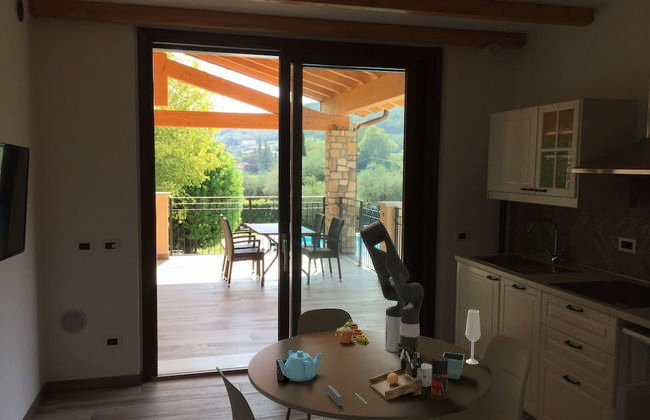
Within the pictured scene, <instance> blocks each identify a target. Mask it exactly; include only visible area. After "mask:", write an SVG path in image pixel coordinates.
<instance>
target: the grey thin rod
mask: <svg viewBox="0 0 650 420" xmlns="http://www.w3.org/2000/svg"><path fill="white" fill-rule="evenodd" d="M353 395H355V396H356V397H357V398H359V400H360V401H362V402H363V403H364V404H365V405H368V404H369V403H368V402H367V401H366V400H365V399H364V398H363V397H362V396H360V394H358V393H357V392H353Z"/></svg>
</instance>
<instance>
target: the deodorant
mask: <svg viewBox="0 0 650 420" xmlns="http://www.w3.org/2000/svg"><path fill="white" fill-rule="evenodd" d="M431 358H432V359H431V365H432V381H431V385H430V386H431V389H430V390H431V391H430V397H431V398H432V399H434V400H438V401H444V400H446V399H447V398H448V378H447V377H448V358H446V357H443V355H435V356H432V357H431Z"/></svg>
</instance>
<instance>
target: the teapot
mask: <svg viewBox="0 0 650 420" xmlns="http://www.w3.org/2000/svg"><path fill="white" fill-rule="evenodd" d="M287 351H288V352H287V353H288V358H287V359H286V362H284V361H283V360H282V359H278V360H277V363H278V364H279V368H280V370H281V372H282V374H283V376H284V377H285V376H286V377H287V378H289V379H290V380H289V379H288V380H289V381H292V382H306V381H311V380H312V379H313V378H315V376H316V375H317V370H318V368H319V364H320V360H321V358H322V353H321V352H317V354H316V355H315V357H314V359H313V357H312V356H311V355H310V354H309V353H307V352H304V350H297V351H296V352H293V350H291V349H289V350H287ZM286 377H285V378H286ZM287 378H286V379H287Z"/></svg>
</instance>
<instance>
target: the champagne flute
mask: <svg viewBox="0 0 650 420" xmlns="http://www.w3.org/2000/svg"><path fill="white" fill-rule="evenodd" d="M480 320H481V319H480V310H477V309H469V310H467V318H466V327H465V334H464V335H465V336H466V339H467V340H468V341H470V342H471V343H470V344H471V345H470V348H471V349H470V358H469V359H466V360H465V363H467V364H469V365H478V364H479V362H478V360H476V359H475V358H474V357H475V355H474V354H475V343H476V342H477V341H478V340H479V339H480V338H481V334H482V333H481V321H480Z"/></svg>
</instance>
